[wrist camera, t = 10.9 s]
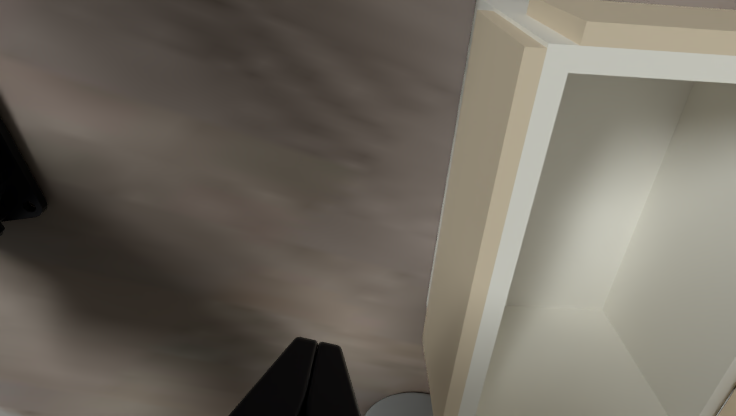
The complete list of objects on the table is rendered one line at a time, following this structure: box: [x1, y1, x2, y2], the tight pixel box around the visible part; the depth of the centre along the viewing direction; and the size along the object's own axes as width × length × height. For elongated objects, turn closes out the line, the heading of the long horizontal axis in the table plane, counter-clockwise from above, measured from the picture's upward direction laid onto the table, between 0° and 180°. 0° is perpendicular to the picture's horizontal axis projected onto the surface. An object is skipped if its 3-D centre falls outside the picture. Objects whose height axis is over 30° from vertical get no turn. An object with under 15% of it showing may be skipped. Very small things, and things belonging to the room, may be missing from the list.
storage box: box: [422, 0, 736, 416], centre depth 18 cm, size 10×15×8 cm, turn 176°
